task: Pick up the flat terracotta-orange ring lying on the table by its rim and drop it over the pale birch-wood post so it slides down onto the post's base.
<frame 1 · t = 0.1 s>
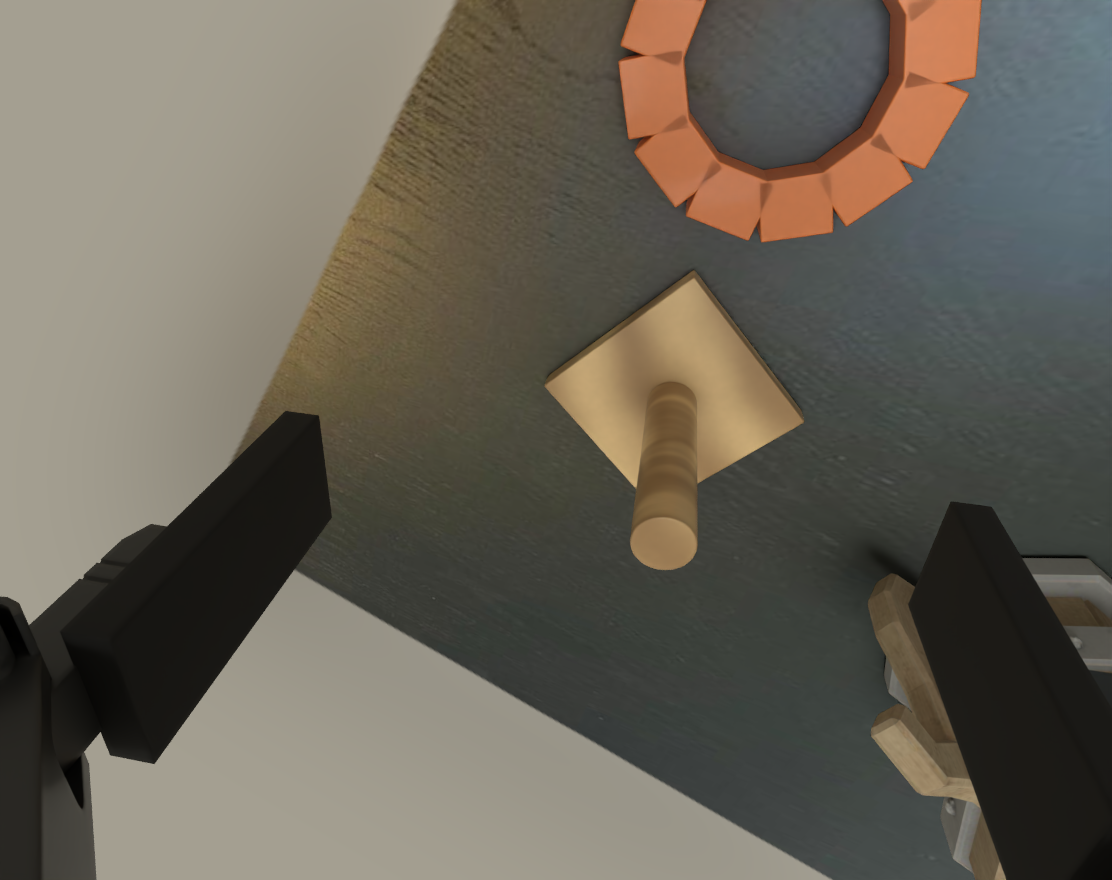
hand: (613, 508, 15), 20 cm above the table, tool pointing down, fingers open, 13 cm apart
tankard: (962, 605, 40), on the table
rack: (672, 392, 36), on the table
ring: (784, 65, 29), on the table
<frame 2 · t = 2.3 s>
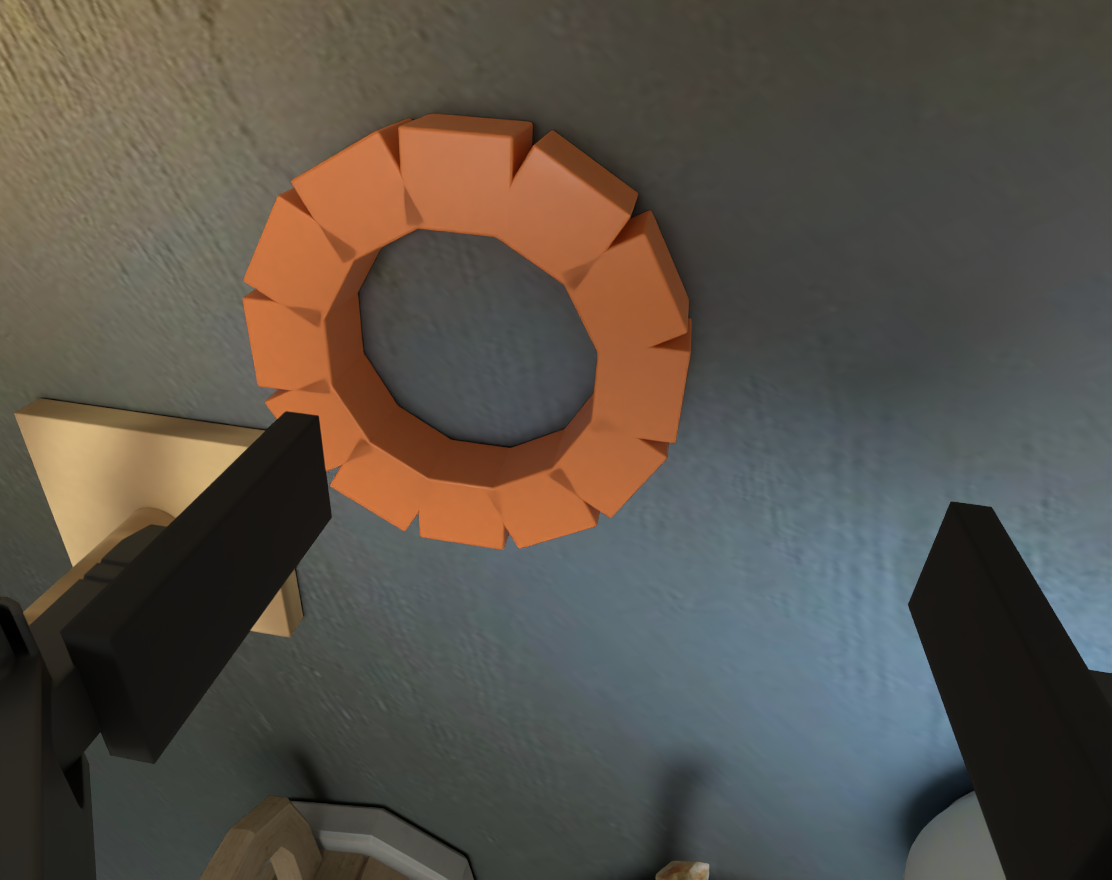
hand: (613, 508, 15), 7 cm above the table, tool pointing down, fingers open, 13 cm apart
teacup: (1066, 824, 29), on the table
tankard: (351, 828, 38), on the table
rack: (180, 514, 28), on the table
ring: (480, 337, 22), on the table
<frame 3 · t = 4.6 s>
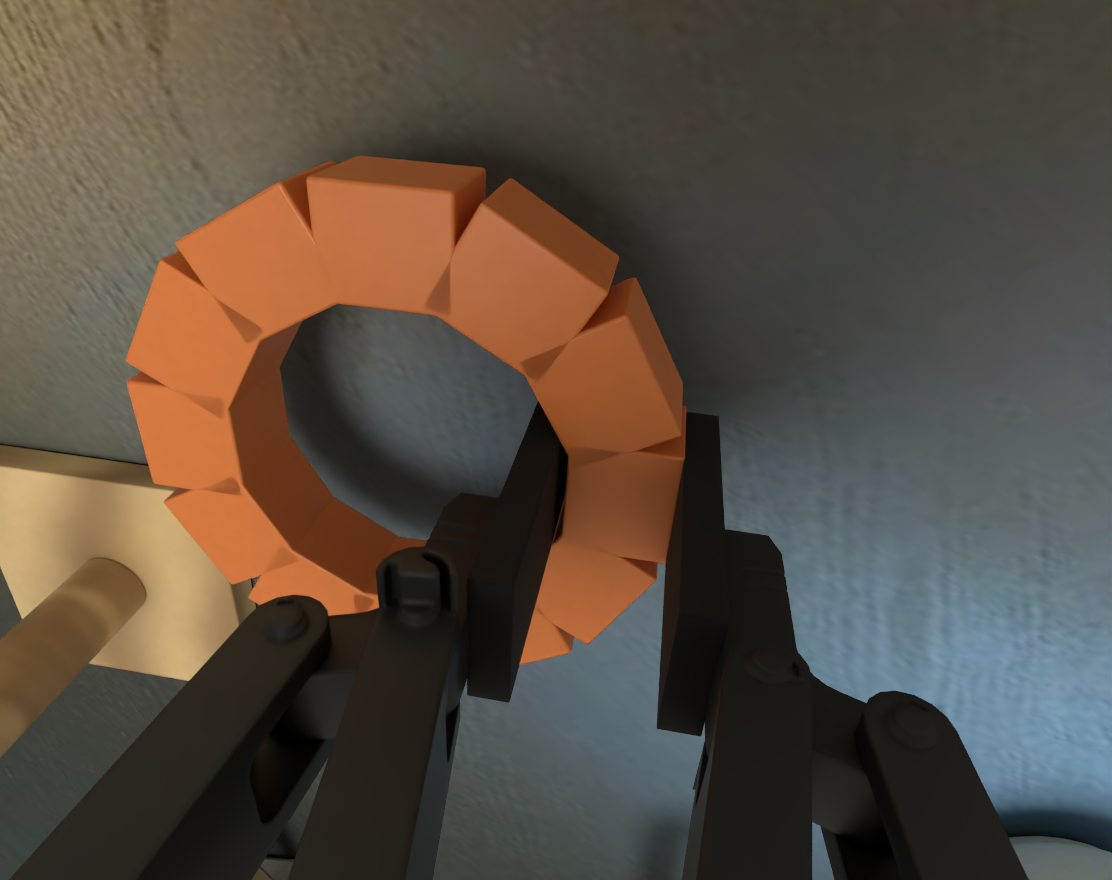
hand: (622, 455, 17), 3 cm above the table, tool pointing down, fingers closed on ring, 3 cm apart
rack: (136, 562, 27), on the table
ring: (429, 421, 18), point 3 cm above the table, touching gripper
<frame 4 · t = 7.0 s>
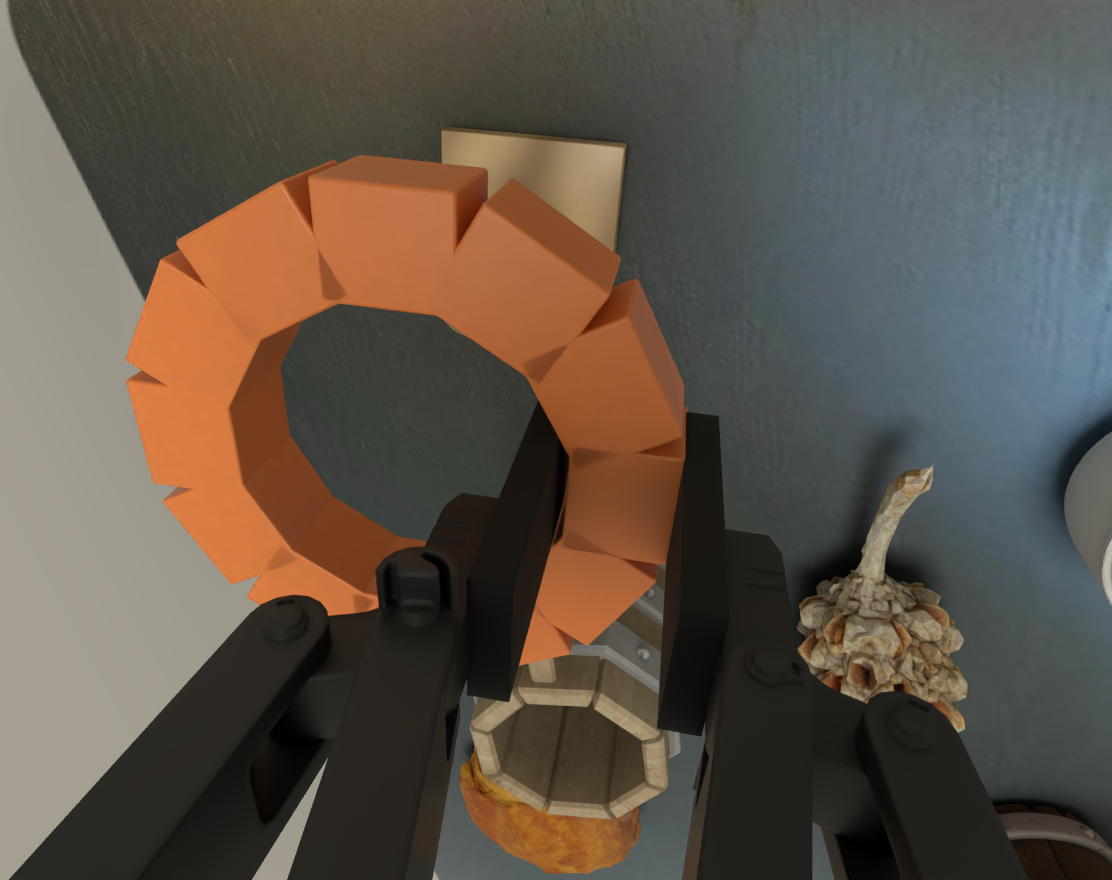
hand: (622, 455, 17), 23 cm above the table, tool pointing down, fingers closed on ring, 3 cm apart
pine cone: (862, 565, 46), on the table
croissant: (556, 766, 61), on the table
tankard: (593, 536, 48), on the table
flowerpot: (1015, 838, 56), on the table
rack: (532, 226, 38), on the table
ring: (429, 421, 18), point 23 cm above the table, touching gripper
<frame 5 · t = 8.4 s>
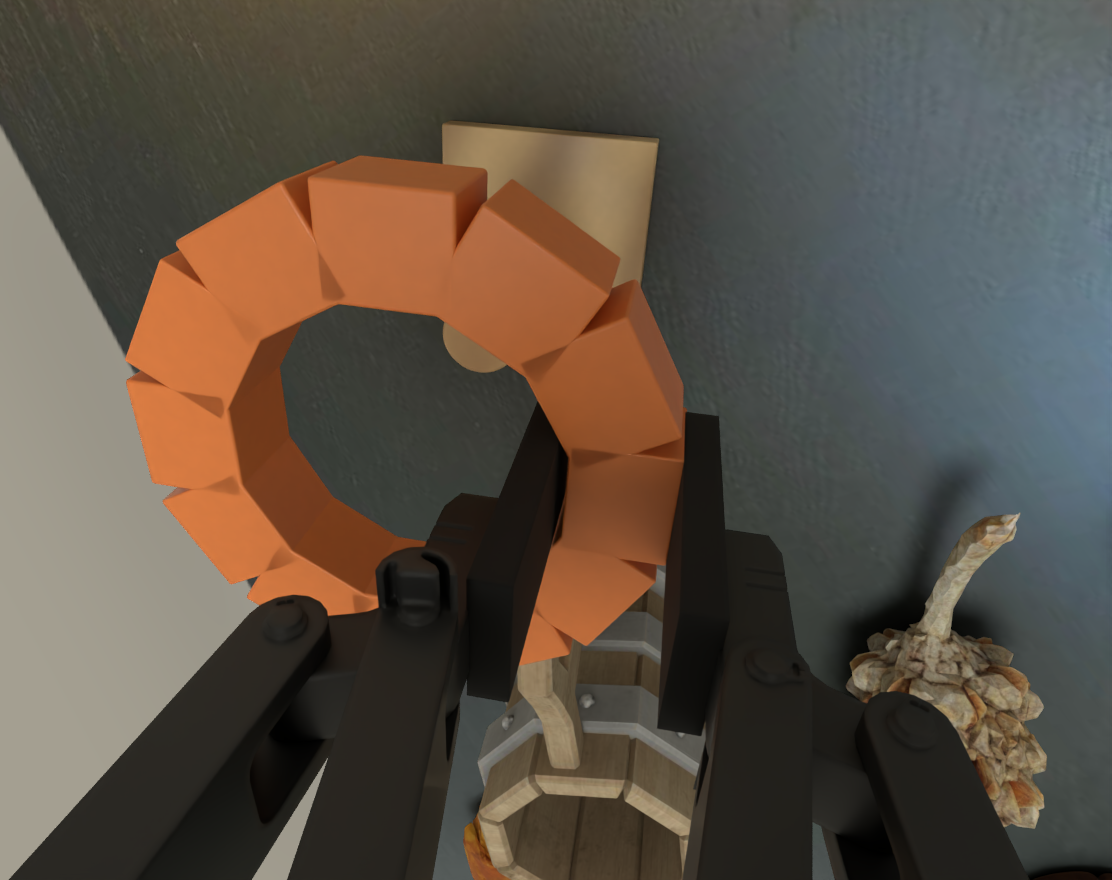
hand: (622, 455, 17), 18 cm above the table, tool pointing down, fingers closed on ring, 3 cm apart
pine cone: (918, 615, 41), on the table
croissant: (569, 824, 56), on the table
tankard: (613, 581, 43), on the table
rack: (547, 235, 33), on the table
ring: (429, 422, 18), point 18 cm above the table, touching gripper
when the fingers open (15 cm above the table, at t = 9.4 s): ring drops 13 cm, resting on rack.
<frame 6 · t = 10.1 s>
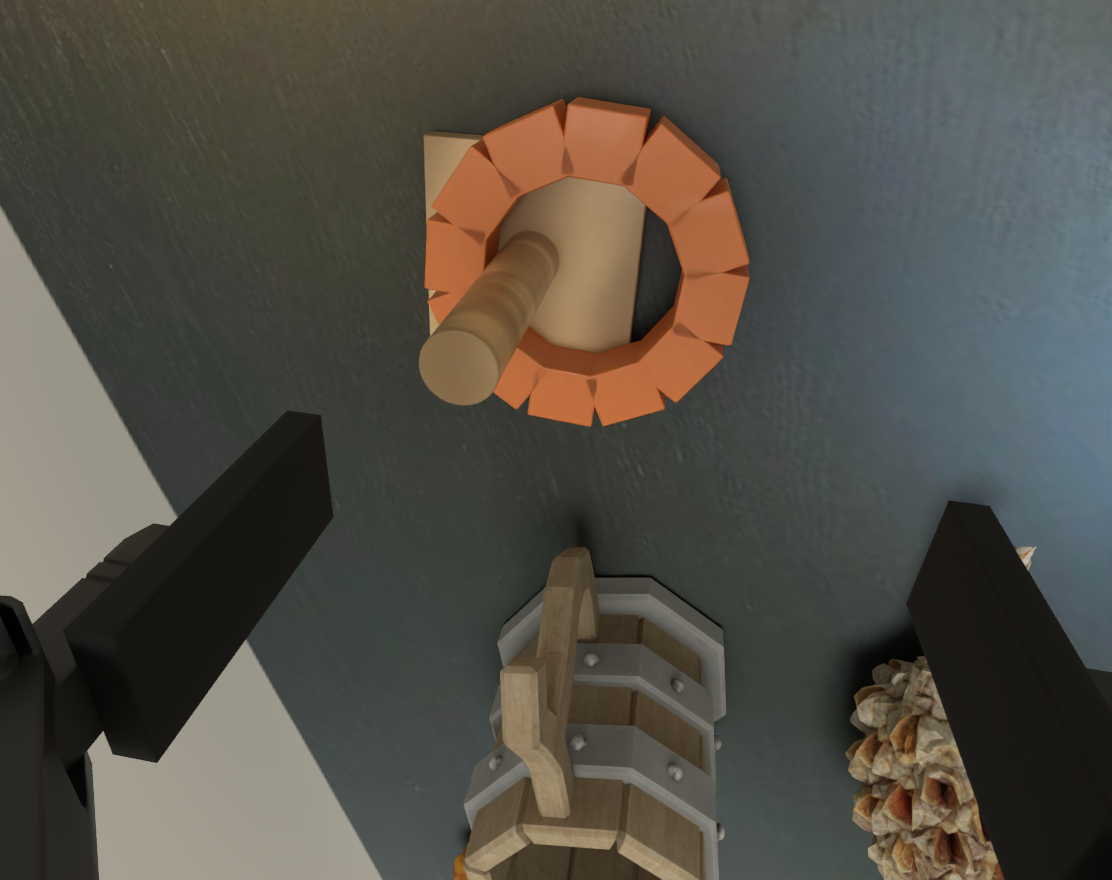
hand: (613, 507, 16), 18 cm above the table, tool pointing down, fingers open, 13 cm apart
pine cone: (925, 644, 39), on the table
tankard: (607, 608, 41), on the table
rack: (536, 251, 31), on the table
ring: (588, 265, 30), point 1 cm above the table, touching rack
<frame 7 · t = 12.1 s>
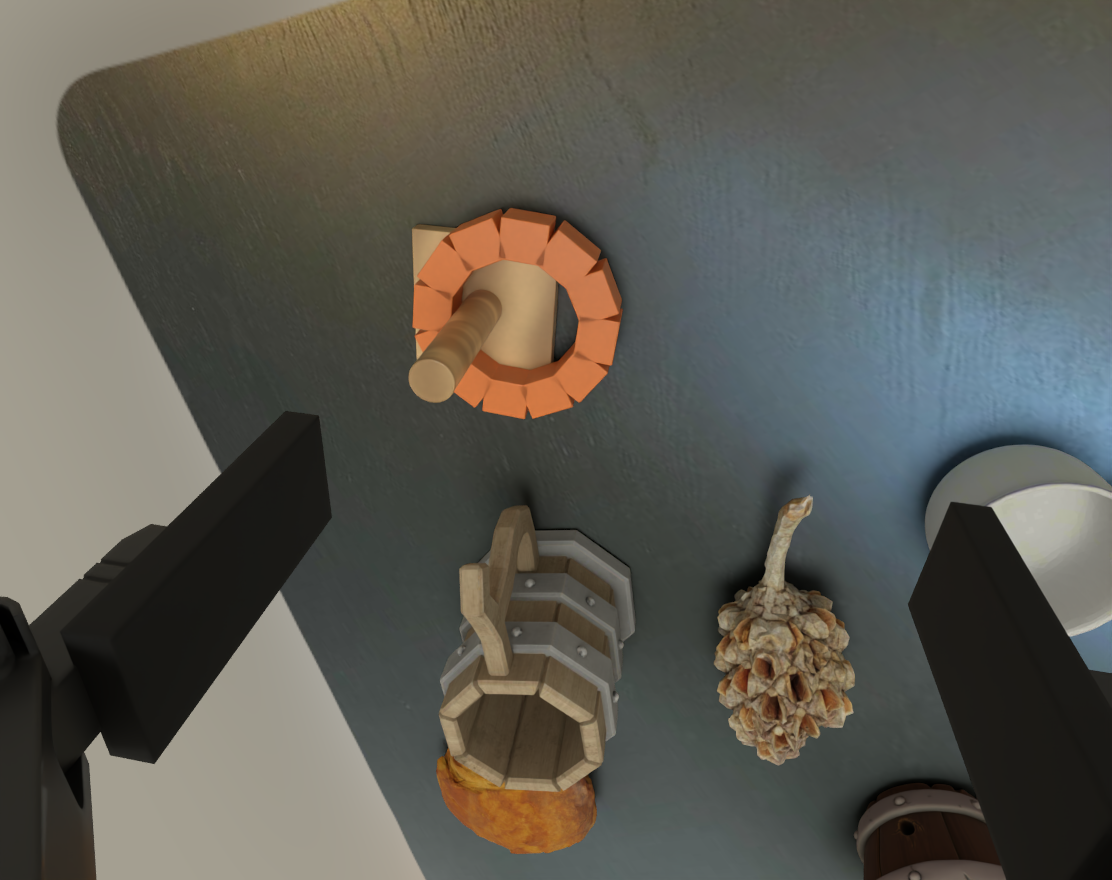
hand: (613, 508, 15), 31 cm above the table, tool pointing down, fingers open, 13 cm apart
pine cone: (773, 576, 54), on the table
teacup: (1021, 491, 48), on the table
croissant: (522, 759, 69), on the table
tankard: (547, 554, 56), on the table
flowerpot: (922, 814, 65), on the table
rack: (487, 301, 47), on the table
ring: (521, 311, 45), point 1 cm above the table, touching rack
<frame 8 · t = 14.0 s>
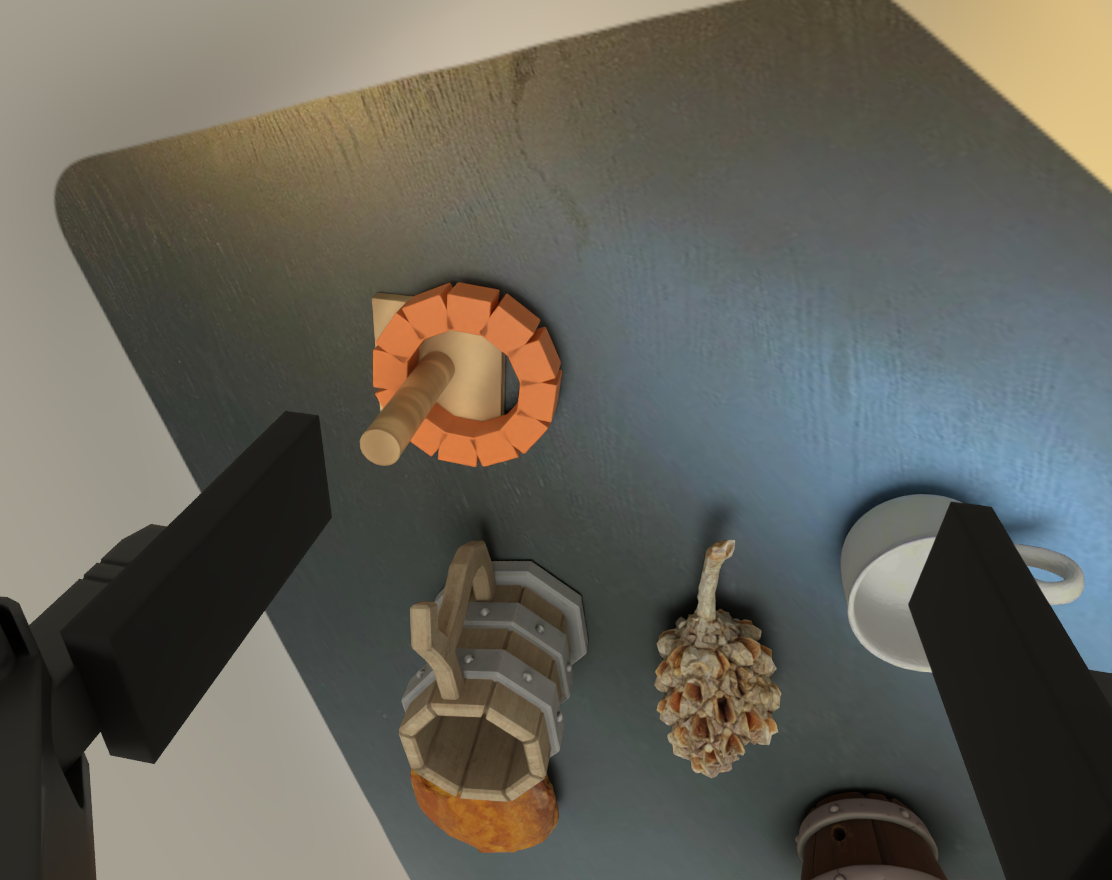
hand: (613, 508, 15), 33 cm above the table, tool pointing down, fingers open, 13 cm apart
pine cone: (711, 605, 59), on the table
teacup: (931, 533, 52), on the table
croissant: (491, 765, 74), on the table
tankard: (506, 582, 61), on the table
flowerpot: (859, 820, 69), on the table
rack: (443, 360, 52), on the table
ring: (472, 371, 50), point 1 cm above the table, touching rack
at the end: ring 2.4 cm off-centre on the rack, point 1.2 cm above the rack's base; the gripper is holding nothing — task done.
